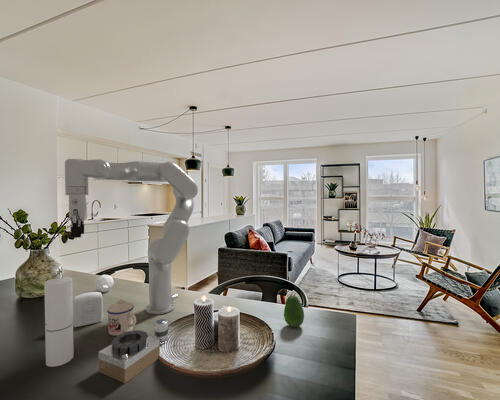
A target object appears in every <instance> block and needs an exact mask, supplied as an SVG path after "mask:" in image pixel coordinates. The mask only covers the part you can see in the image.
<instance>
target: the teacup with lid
mask: <svg viewBox="0 0 500 400" xmlns="http://www.w3.org/2000/svg"><path fill="white" fill-rule="evenodd" d="M134 307H135V305H134V304H133V303H132V302H129V301H124V299H122V298H120V299H118V300H117V302H116V303H114V304H110V306H109V307H107V310H106V312H107V315H108V316H107V331H108V332H107V333H108V334H109V335H110V336H115V337H116V336H118V335H120V334H124V332H128V331H131V332H132V331H133V329H134V326H136V323H137V317H136V315H135V314H134Z"/></svg>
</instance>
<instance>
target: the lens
mask: <svg viewBox="0 0 500 400" xmlns="http://www.w3.org/2000/svg"><path fill="white" fill-rule="evenodd" d="M154 338H157V339H160V342H161V343H162V342H165V341H167V340H168V341H169V321H168V319H167V318H159V319H157V320H155V321H154Z"/></svg>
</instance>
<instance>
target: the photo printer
mask: <svg viewBox="0 0 500 400" xmlns="http://www.w3.org/2000/svg"><path fill="white" fill-rule="evenodd" d="M103 301H104V298H103V295H102V292H100V291H89V292H84V293H80V294H77V295H75V296H74V298H73V328H77V327H82V326H87V325H92V324H97V323H101V322H102V321H103V319H104V311H103V310H104V308H103V307H104V302H103Z"/></svg>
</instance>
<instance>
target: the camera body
mask: <svg viewBox="0 0 500 400" xmlns="http://www.w3.org/2000/svg"><path fill="white" fill-rule="evenodd" d="M160 346H161V345H160V339H157V338H155V336H150V335H148V333H147V332H146V331H144V330H140V329H139V330H138V329H137V330H131V331H128V332H124V334H120V335H118V336H115V337H114V338H113V339H112V340H111V344H110V345H108V346H107V347H104V348H102V349H101V350H99V351H98V373H101V374H103V375H104V376H106V377H109V378H112V379H114V380H116V381H118V382H121V383H123V384H126V383H128V382H129V381H130V380H131V379H133V378H135V377H136V376H137V375H139V374H140V373H141V372H143V371H144V370H146V368H148V367H150V366H151V365H152V364H154V363H155V362H156V361H157V360H158V356H159V355H160V353H161V352H160V350H161V349H160ZM160 356H161V355H160Z"/></svg>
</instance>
